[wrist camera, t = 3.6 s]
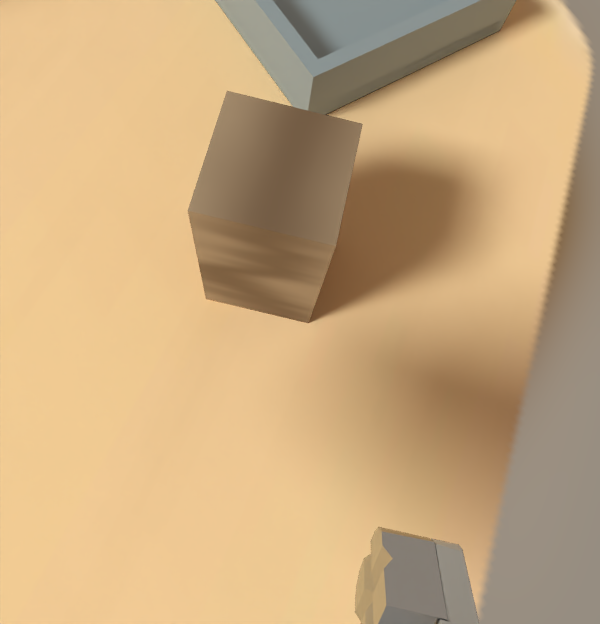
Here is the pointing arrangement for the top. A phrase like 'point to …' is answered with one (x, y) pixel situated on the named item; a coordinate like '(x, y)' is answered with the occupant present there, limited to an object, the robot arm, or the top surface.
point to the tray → (356, 41)
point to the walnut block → (271, 204)
